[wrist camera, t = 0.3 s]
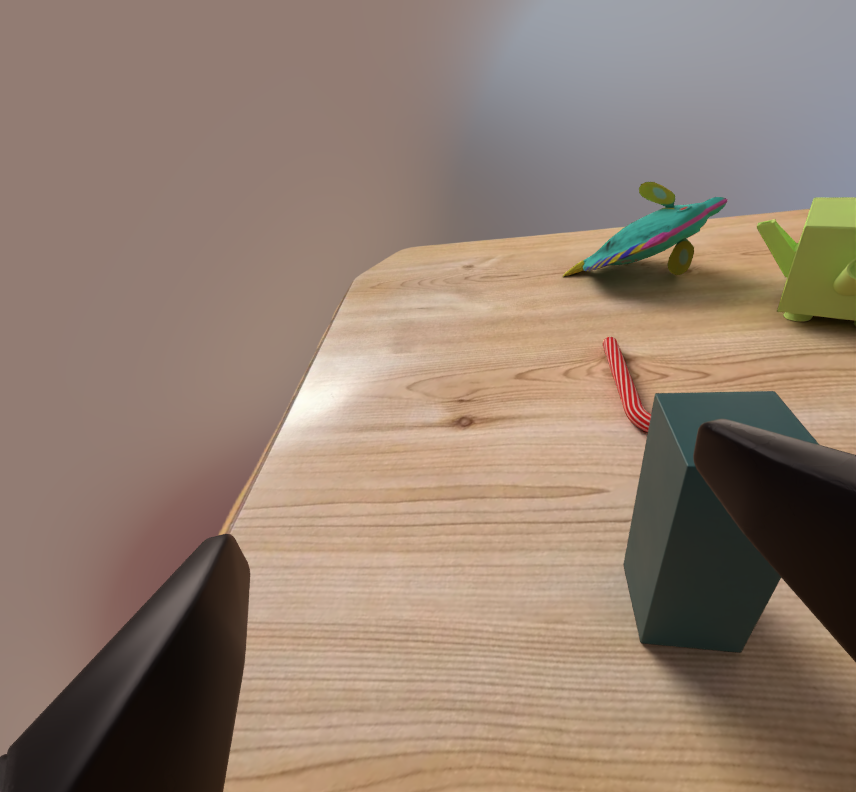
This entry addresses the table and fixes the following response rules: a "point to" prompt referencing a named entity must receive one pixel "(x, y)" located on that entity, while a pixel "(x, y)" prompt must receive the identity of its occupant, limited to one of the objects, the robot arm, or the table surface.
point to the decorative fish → (655, 233)
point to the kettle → (818, 261)
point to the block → (697, 529)
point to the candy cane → (626, 385)
